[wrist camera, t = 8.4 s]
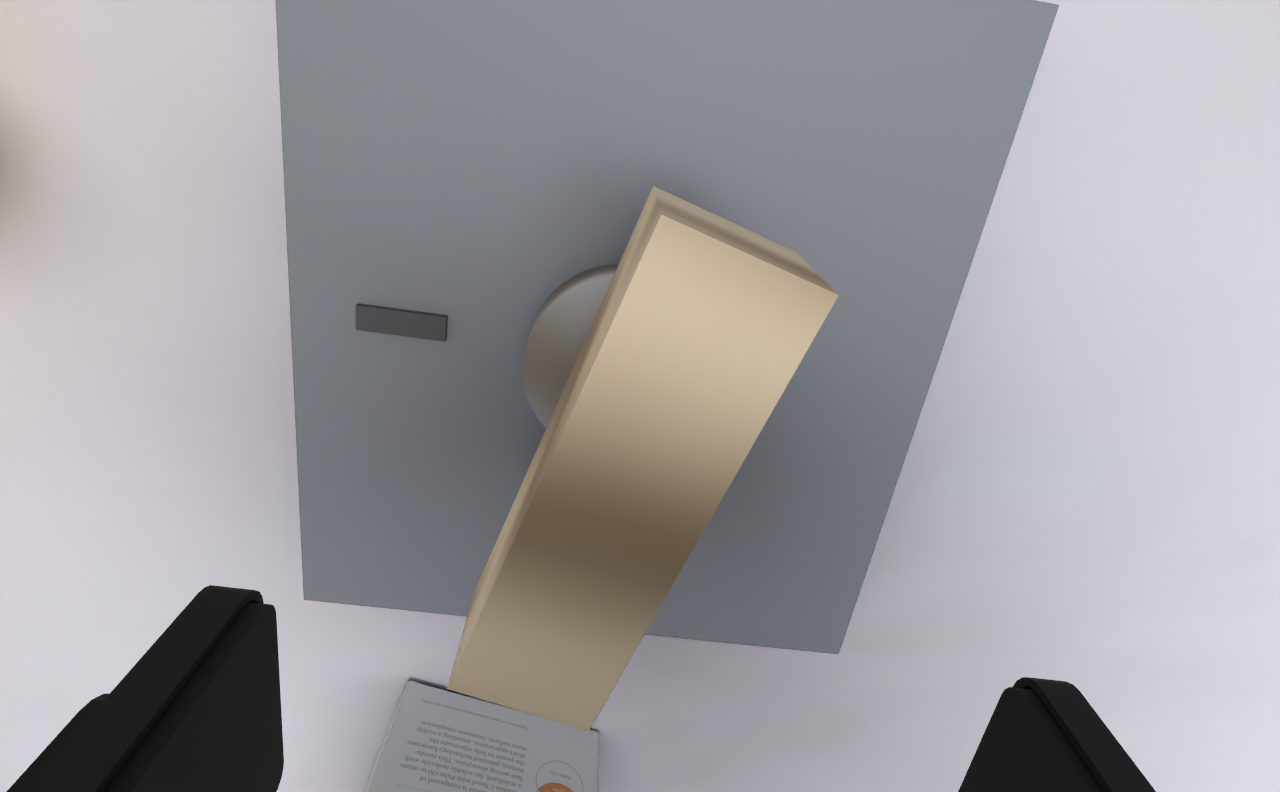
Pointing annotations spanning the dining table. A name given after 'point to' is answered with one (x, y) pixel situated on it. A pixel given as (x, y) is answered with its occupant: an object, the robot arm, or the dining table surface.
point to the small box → (480, 748)
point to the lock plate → (597, 236)
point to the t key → (631, 449)
